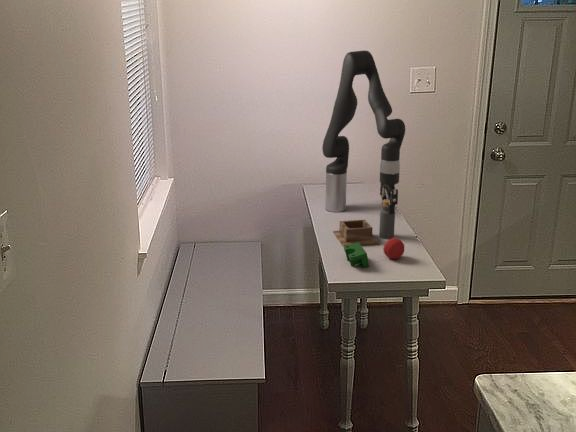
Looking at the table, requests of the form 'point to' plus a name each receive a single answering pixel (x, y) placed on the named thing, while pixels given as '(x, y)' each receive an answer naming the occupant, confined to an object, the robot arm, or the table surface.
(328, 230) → the table surface
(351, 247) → the clamp
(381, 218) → the bottle
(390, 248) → the tomato
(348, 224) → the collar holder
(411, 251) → the table surface
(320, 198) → the table surface
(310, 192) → the table surface
